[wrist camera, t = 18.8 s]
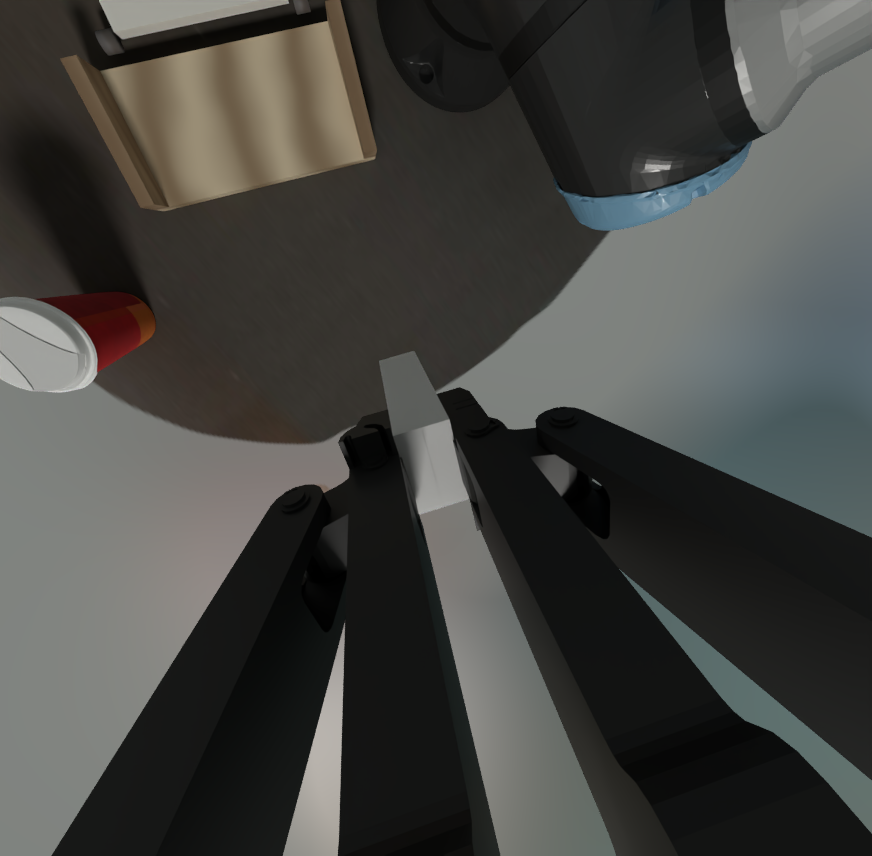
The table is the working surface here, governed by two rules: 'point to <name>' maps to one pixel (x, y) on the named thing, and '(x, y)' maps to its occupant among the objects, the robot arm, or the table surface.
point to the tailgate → (173, 13)
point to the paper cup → (68, 338)
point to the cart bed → (230, 112)
